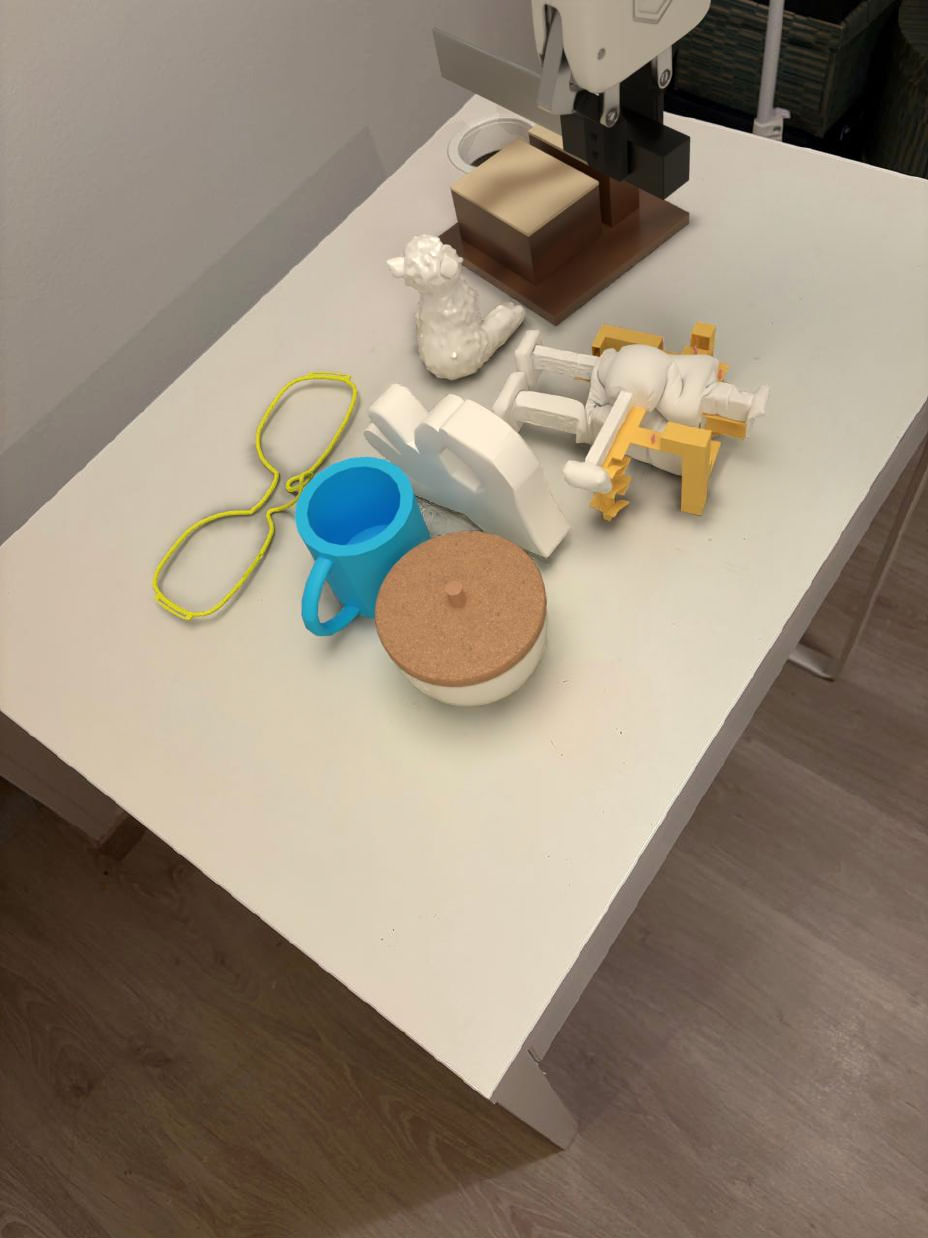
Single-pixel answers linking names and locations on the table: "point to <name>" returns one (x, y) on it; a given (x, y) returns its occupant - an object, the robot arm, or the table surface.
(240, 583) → the glasses
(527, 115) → the tall black pillar
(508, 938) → the table surface
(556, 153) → the wooden step piece
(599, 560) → the table surface
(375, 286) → the table surface
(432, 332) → the white creature statuette
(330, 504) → the mug
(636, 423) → the figure
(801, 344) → the table surface
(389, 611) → the trinket box
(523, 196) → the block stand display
